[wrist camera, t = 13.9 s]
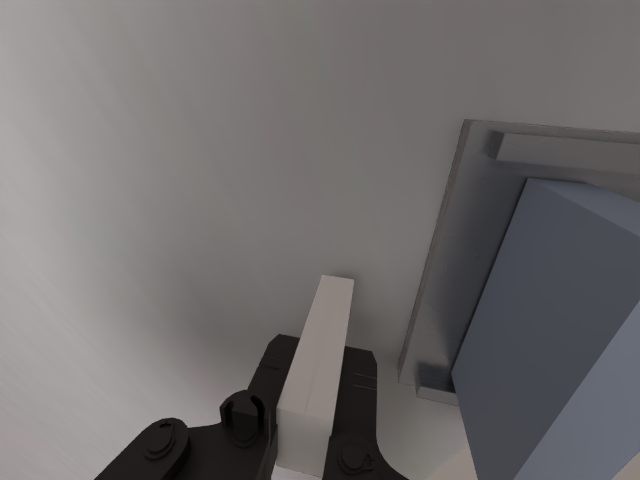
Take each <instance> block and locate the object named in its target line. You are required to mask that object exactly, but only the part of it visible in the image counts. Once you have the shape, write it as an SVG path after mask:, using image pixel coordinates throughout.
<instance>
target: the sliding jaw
mask: <svg viewBox="0 0 640 480" xmlns="http://www.w3.org/2000/svg"><path fill="white" fill-rule="evenodd" d="M451 375H452V379H453V383H454V387H455V391H456V395H457V399H458V403H459V407H460V411H461V415H462V419H463V423H464V427H465V431H466V434H467V438H468V442H469V446H470V450H471V454H472V458H473V462H474V466H475V470H476V474H477V478H478V480H611V479H612V478H613V477H614V476H615V475H616V474H617V473H618V472H619V471H620V470H621V469H622V468H623V467H624V466H625V465H626V464H627V463H628V462H629V461H630V460H631V459H632V458H633V457H634V456H635V455H636V454H637V453H638V452H639V451H640V203H639V202H637V201H634V200H631V199H629V198H626V197H624V196H621V195H619V194H616V193H614V192H611V191H609V190H606V189H604V188H601V187H599V186H596V185H591V184H581V183H572V182H562V181H553V180H543V179H534V178H528V179H527V182H526V185H525V187H524V190H523V192H522V195H521V197H520V200H519V202H518V205H517V207H516V210H515V212H514V215H513V217H512V220H511V223H510V225H509V228H508V230H507V233H506V235H505V238H504V240H503V243H502V245H501V248H500V250H499V253H498V256H497V258H496V261H495V263H494V266H493V268H492V271H491V273H490V276H489V278H488V281H487V283H486V286H485V288H484V291H483V294H482V296H481V299H480V301H479V304H478V306H477V309H476V311H475V314H474V316H473V319H472V321H471V324H470V327H469V329H468V332H467V334H466V337H465V339H464V342H463V344H462V347H461V349H460V352H459V354H458V357H457V360H456V362H455V365H454V367H453V370H452V372H451Z"/></svg>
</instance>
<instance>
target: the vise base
mask: <svg viewBox="0 0 640 480" xmlns="http://www.w3.org/2000/svg"><path fill="white" fill-rule="evenodd" d="M528 178H534V179H543V180H553V181H562V182H572V183H581V184H591V185H596V186H599V187H601V188H604V189H606V190H609V191H611V192H614V193H616V194H619V195H621V196H624V197H626V198H629V199H631V200H634V201H637V202H639V203H640V133H630V132H618V131H605V130H593V129H581V128H568V127H556V126H543V125H531V124H518V123H506V122H494V121H481V120H469V119H465V120H464V124H463V128H462V131H461V135H460V139H459V143H458V146H457V150H456V154H455V157H454V161H453V165H452V169H451V172H450V176H449V180H448V183H447V187H446V191H445V194H444V198H443V202H442V206H441V209H440V213H439V217H438V220H437V224H436V228H435V231H434V235H433V239H432V243H431V246H430V250H429V254H428V257H427V261H426V265H425V269H424V272H423V276H422V280H421V283H420V287H419V291H418V294H417V298H416V302H415V306H414V309H413V313H412V317H411V320H410V324H409V328H408V331H407V335H406V339H405V343H404V346H403V350H402V354H401V357H400V361H399V365H398V382H399V383H401V384H406V385H411V386H416V395H417V397H418V398H423V399H428V400H432V401H437V402H442V403H446V404H451V405H455V406H459V403H458V399H457V395H456V391H455V387H454V383H453V379H452V375H451V372H452V370H453V367H454V365H455V362H456V360H457V357H458V354H459V352H460V349H461V347H462V344H463V342H464V339H465V337H466V334H467V332H468V329H469V327H470V324H471V321H472V319H473V316H474V314H475V311H476V309H477V306H478V304H479V301H480V299H481V296H482V294H483V291H484V288H485V286H486V283H487V281H488V278H489V276H490V273H491V271H492V268H493V266H494V263H495V261H496V258H497V256H498V253H499V250H500V248H501V245H502V243H503V240H504V238H505V235H506V233H507V230H508V228H509V225H510V223H511V220H512V217H513V215H514V212H515V210H516V207H517V205H518V202H519V200H520V197H521V195H522V192H523V190H524V187H525V185H526V182H527V179H528Z"/></svg>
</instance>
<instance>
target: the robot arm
mask: <svg viewBox="0 0 640 480" xmlns="http://www.w3.org/2000/svg"><path fill="white" fill-rule="evenodd" d="M354 281H355V280H353V279H347V278H341V277H335V276H328V275H322V277H321V280H320V283H319V286H318V289H317V292H316V294H315V297H314V300H313V303H312V306H311V309H310V312H309V315H308V318H307V321H306V323H305V326H304V329H303V332H302V335H301V338H297V337H292V336H287V335H282V334H278V335H277V336H276V337H275V338H274V339H273V340H272V341H271V342H270V343H269V344H268V346H267V348H266V351H265V353H264V356H263V357H262V359H261V361H260V363H259V367H258V368H257V370H256V372H255V374H254V376H253V378H252V380H251V383H250V385H249V387H248V389H247V390H243V391H239V392H236V393H234V394H232V395H231V396H230V397H228V398H227V399H226V400H225V401H224V402H223V404H222V405H221V406H220V415H221V422H220V423H218V424H214V425H210V426H201V427H192V428H187V426H186V425H185V423H184V422H183V421H182V420H179V419H176V418H165V419H161V420H159V421H157V422H154V423H152V424H151V425H150V426H148V427H147V428H146V429H145V430H143V431H142V432H141V433H140V434H139V435H138V436H137V437H136V438H135V439H134V440H133V441H132V442H131V443H130V444H129V445H128V446H127V447H126V448H125V449H124V450H123V451H122V452H121V453H120V454H119V455H118V456H117V457H116V458H115V459H114V460H113V461H112V462H111V463H110V464H109V465H108V466H107V467H106V468H105V469H104V470H103V471H102V472H101V473H100V474H99V475H98V476H97V477H96V478H95V479H94V480H271V475H272V472H273V468H274V465H275V461H276V466H280V467H284V468H288V469H291V470H295V471H299V472H303V473H307V474H310V475H314V476H318V477H322V480H409V479H407V478H406V477H404V476H403V475H401V474H400V473H398V472H397V471H395V470H394V469H393V468H392V467H390V465H389V464H388V463H387V462H386V461H385V459H384V458H383V456H382V454H381V453H380V451H379V448H378V445H377V439H376V407H377V362H376V360H375V358H374V356H373V353H372V351H367V350H362V349H357V348H352V347H347V346H345V342H346V335H347V329H348V322H349V315H350V308H351V301H352V295H353V288H354Z"/></svg>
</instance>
